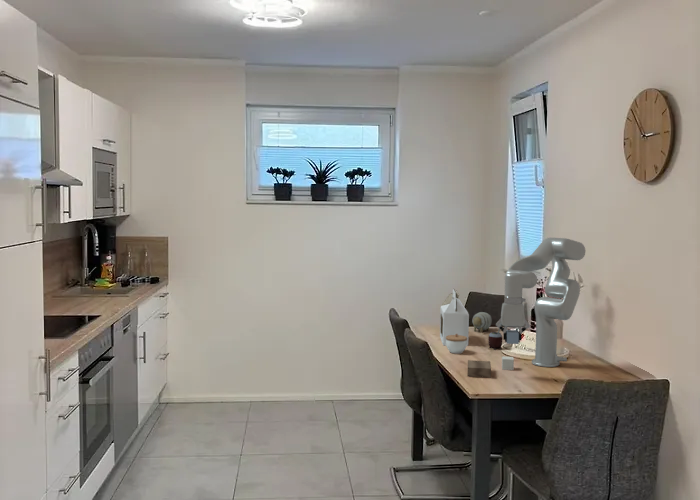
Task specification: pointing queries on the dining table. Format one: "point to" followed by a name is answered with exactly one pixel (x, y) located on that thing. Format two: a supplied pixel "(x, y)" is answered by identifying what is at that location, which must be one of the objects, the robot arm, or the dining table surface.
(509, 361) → the cream block
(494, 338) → the mate gourd
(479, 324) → the toy sheep
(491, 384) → the dining table surface
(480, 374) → the walnut base block
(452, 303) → the gable box
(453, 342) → the lidded jar
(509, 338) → the slate blue block
